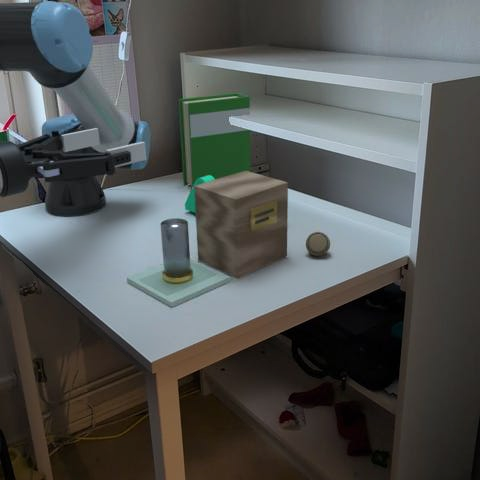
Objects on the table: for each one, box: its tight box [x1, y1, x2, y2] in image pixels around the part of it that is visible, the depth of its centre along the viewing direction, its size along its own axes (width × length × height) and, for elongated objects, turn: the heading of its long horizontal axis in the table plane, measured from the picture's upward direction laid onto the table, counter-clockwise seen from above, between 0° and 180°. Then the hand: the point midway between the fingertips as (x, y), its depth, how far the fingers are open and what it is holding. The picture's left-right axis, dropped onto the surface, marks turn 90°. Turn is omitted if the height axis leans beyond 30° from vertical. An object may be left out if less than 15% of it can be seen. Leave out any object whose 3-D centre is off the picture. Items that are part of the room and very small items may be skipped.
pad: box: [126, 257, 231, 308], centre depth 115 cm, size 14×14×1 cm
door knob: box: [305, 231, 331, 257], centre depth 125 cm, size 5×5×5 cm
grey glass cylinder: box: [160, 217, 193, 284], centre depth 113 cm, size 6×6×11 cm
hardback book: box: [178, 92, 252, 188], centre depth 167 cm, size 18×7×24 cm, turn 117°
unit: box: [194, 171, 289, 279], centre depth 122 cm, size 13×14×16 cm
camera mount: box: [184, 175, 215, 214], centre depth 147 cm, size 12×8×10 cm, turn 48°
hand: (120, 143), depth 98 cm, fingers open, 13 cm apart
